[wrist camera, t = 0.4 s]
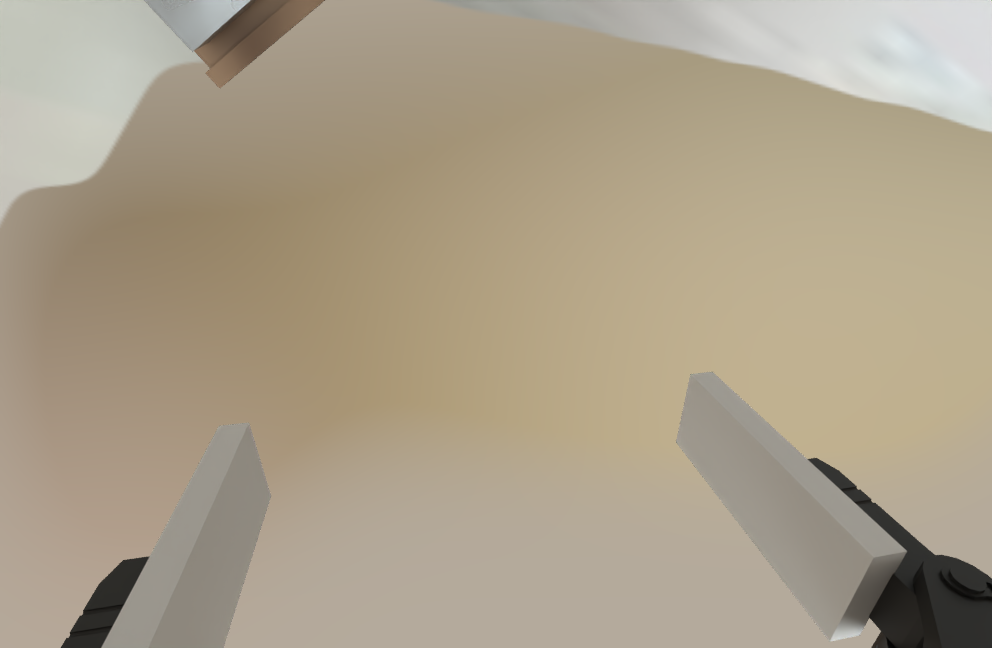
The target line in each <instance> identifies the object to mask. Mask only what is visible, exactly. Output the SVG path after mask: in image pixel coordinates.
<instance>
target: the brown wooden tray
mask: <svg viewBox="0 0 992 648" xmlns="http://www.w3.org/2000/svg"><path fill="white" fill-rule="evenodd" d="M323 1H325V0H256V1H255V2H254V3H253V4H252V5H251V6H250V7H249V8H247V9H246V10H245V11H244V12H243V13H242V14H241V15H239V16H238V17H237V18H236V19H235V20H234V21H233V22H232V23H230V24H229V25H228V26H227V27H226V28H225V29H224V30H223V31H221V32H220V33H219V34H218V35H217V36H216V37H215V38H214V39H212V40H211V41H210V42H209V43H208V44H206V45H204V46H202V47H201V48H199V49H197V50H195V52H196V53H197V55H198V56H199V57H200V58H201V59H202V60H203V61H204V62H205V63H206V64H207V65H208V66H209V67H210V68H211V69H210V70H208V71H207V72H206V74H207V75H208V76H209V77H210V78H211V79H212V81H213V82H215V84H216V85H217V86H218V87H219V88H221V87H222V86H223V85H225V84H226V83H227V82H228V81H230V80H231V79H232V78H233V77H234V76H235V75H237V74H238V73H239V72H240V71H241V70H243V69H244V68H245V67H246V66H247V65H248V64H250V63H251V62H252V61H253V60H255V59H256V58H257V57H258V56H259V55H260V54H262V53H263V52H264V51H265V50H266V49H268V48H269V47H270V46H271V45H272V44H274V43H275V42H276V41H277V40H278V39H279V38H281V37H282V36H283V35H284V34H285V33H287V32H288V31H289V30H290V29H291V28H293V27H294V26H295V25H296V24H297V23H298V22H300V21H301V20H302V19H303V18H304V17H306V16H307V15H308V14H309V13H310V12H312V11H313V10H314V9H315V8H316V7H318V6H319V5H320V4H321V3H322V2H323Z"/></svg>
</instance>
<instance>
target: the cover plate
mask: <svg viewBox="0 0 992 648" xmlns="http://www.w3.org/2000/svg"><path fill="white" fill-rule="evenodd" d="M144 1H145V2H146V3H147V4H148V5H149V6H150V7H151V8H152V9H153V10H154V11H155V12H156V14H157V15H158V16H159V17H160V18H161V19H162V20H163V21H164V22H165V23H166V24H167V25H168V26H169V27H170V28H171V30H172V31H173V32H174V33H175V34H176V35H177V36H178V37H179V38H180V39H181V40H182V41H183V42H184V43H185V45H186V46H187V47H188V48H189V49H190V50H191V51H192V52H193V51H195V50H197V49H199V48H201V47H202V46H204V45H206V44H208V43H209V42H210V41H211V40H212V39H214V38H215V37H216V36H217V35H218V34H219V33H220V32H221V31H223V30H224V29H225V28H226V27H227V26H228V25H229V24H230V23H232V22H233V21H234V20H235V19H236V18H237V17H238V16H239V15H241V14H242V13H243V12H244V11H245V10H246V9H247V8H249V7H250V6H251V5H252V4H253V3H254V2H255V1H256V0H144Z"/></svg>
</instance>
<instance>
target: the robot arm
mask: <svg viewBox="0 0 992 648" xmlns="http://www.w3.org/2000/svg"><path fill="white" fill-rule="evenodd" d="M676 443H677V444H678V445H679V447H680V448H681V449H682V451H683V452H684V453H685V454H686V456H687V457H688V458H689V460H690V461H691V462H692V464H693V465H694V466H695V468H696V469H697V470H698V471H699V473H700V474H701V475H702V477H703V478H704V479H705V480H706V482H707V483H708V484H709V486H710V487H711V488H712V490H713V491H714V492H715V494H716V495H717V496H718V497H719V499H720V500H721V501H722V503H723V504H724V505H725V506H726V508H727V509H728V510H729V512H730V513H731V514H732V516H733V517H734V518H735V519H736V521H737V522H738V523H739V525H740V526H741V527H742V528H743V530H744V531H745V532H746V534H747V535H748V536H749V538H750V539H751V540H752V542H753V543H754V544H755V545H756V546H757V548H758V549H759V551H760V552H761V553H762V555H763V556H764V557H765V558H766V560H767V561H768V562H769V564H770V565H771V566H772V568H773V569H774V570H775V571H776V573H777V574H778V575H779V577H780V578H781V579H782V581H783V582H784V583H785V584H786V586H787V587H788V588H789V590H790V591H791V592H792V594H793V595H794V596H795V597H796V598H797V600H798V601H799V603H800V604H801V605H802V606H803V608H804V609H805V610H806V612H807V613H808V614H809V616H810V617H811V618H812V619H813V621H814V622H815V623H816V625H817V626H818V627H819V629H820V630H821V631H822V632H823V634H824V635H825V636H826V638H827V639H828V640H829V641H834V640H839V639H844V638H849V637H853V636H858V635H860V634H861V632H862V630H863V628H864V626H865V625H866V623H867V621H868V619H869V618H870V619H871V620H872V621H873V622H874V623H875V624H876V626H877V627H878V628H879V629H880V630H881V633H880V634H879V636H878V638H877V639H876V641H875V643H874V644H873V646H872V648H992V579H991V578H990V577H989V576H988V575H987V574H985V573H983V572H982V571H980V570H979V569H977V568H976V567H974V566H973V565H970V564H968V563H966V562H964V561H961V560H959V559H957V558H953V557H949V556H944V555H934V554H933V553H932V552H931V551H929V550H928V549H927V548H926V547H925V546H923V545H922V544H921V543H920V542H919V541H918V540H917V539H915V537H913V536H912V535H911V534H910V533H909V532H908V531H907V530H905V529H904V528H903V527H902V526H901V525H900V524H899V523H898V522H896V521H895V520H894V519H893V518H892V517H891V516H890V515H888V514H887V513H886V512H885V511H884V510H883V509H882V508H881V507H879V506H878V505H877V504H876V503H872V501H871V499H870V498H869V497H868V496H867V495H866V494H865V493H864V492H862V491H861V490H858V489H857V488H856V486H855V485H854V484H853V483H852V482H851V481H850V480H849V479H848V478H846V477H845V476H844V475H843V474H842V473H841V472H840V471H838V470H837V469H835V468H833V467H831V466H830V465H828V464H826V463H824V462H823V461H821V460H819V459H817V458H813V459H806V458H805V457H804V456H803V455H802V454H801V453H800V452H799V451H798V450H797V449H796V448H795V447H793V446H792V445H791V444H790V443H789V442H788V441H787V440H786V439H785V438H784V437H783V436H781V435H780V434H779V433H778V432H777V431H776V430H775V429H774V428H773V427H772V426H771V425H770V424H769V423H767V422H766V421H765V420H764V419H763V418H762V417H761V416H760V415H758V413H757V412H756V411H754V410H753V409H752V408H751V407H750V406H749V405H748V404H747V403H746V402H745V401H743V400H742V399H741V398H740V397H739V396H738V395H737V394H736V393H735V392H734V391H733V390H732V389H730V388H729V387H728V386H727V385H726V384H725V383H724V382H723V381H722V380H721V379H720V378H719V377H718V376H716V375H715V374H714V373H713V372H707V373H698V374H690V379H689V384H688V389H687V393H686V398H685V403H684V407H683V412H682V416H681V422H680V426H679V431H678V436H677V440H676ZM270 498H271V494H270V491H269V488H268V484H267V481H266V478H265V474H264V471H263V468H262V465H261V461H260V458H259V454H258V451H257V447H256V444H255V441H254V438H253V435H252V431H251V428H250V424H249V423H242V424H232V425H223V426H219V427H218V429H217V431H216V433H215V435H214V436H213V438H212V440H211V442H210V444H209V446H208V448H207V449H206V451H205V453H204V455H203V457H202V459H201V461H200V463H199V465H198V466H197V468H196V470H195V472H194V474H193V476H192V478H191V480H190V482H189V484H188V485H187V487H186V489H185V491H184V493H183V495H182V497H181V499H180V500H179V502H178V504H177V506H176V508H175V510H174V512H173V514H172V516H171V517H170V519H169V521H168V523H167V525H166V527H165V529H164V531H163V532H162V534H161V536H160V538H159V540H158V542H157V544H156V546H155V548H154V550H153V551H152V553H151V555H150V556H149V557H142V558H136V559H129V560H123V561H122V562H121V563H120V564H119V565H118V566H117V567H116V568H115V569H114V570H113V571H112V572H111V573H110V574H109V575H108V576H107V577H106V578H105V579H104V580H103V581H102V582H101V583H100V584H99V585H98V587H97V588H96V590H95V592H94V593H93V595H92V597H91V599H90V600H89V602H88V603H87V605H86V607H85V609H84V610H83V615H82V616H80V617H79V618H78V620H77V622H76V623H75V625H74V627H73V628H72V630H71V632H70V637H69V638H66V640H65V641H64V643H63V645H62V646H61V648H223V647H224V644H225V641H226V638H227V635H228V632H229V629H230V625H231V622H232V619H233V616H234V613H235V609H236V606H237V603H238V600H239V597H240V593H241V590H242V587H243V584H244V580H245V578H246V574H247V571H248V568H249V565H250V562H251V558H252V555H253V552H254V549H255V546H256V542H257V539H258V536H259V532H260V530H261V526H262V523H263V520H264V517H265V514H266V511H267V507H268V504H269V501H270Z"/></svg>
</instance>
